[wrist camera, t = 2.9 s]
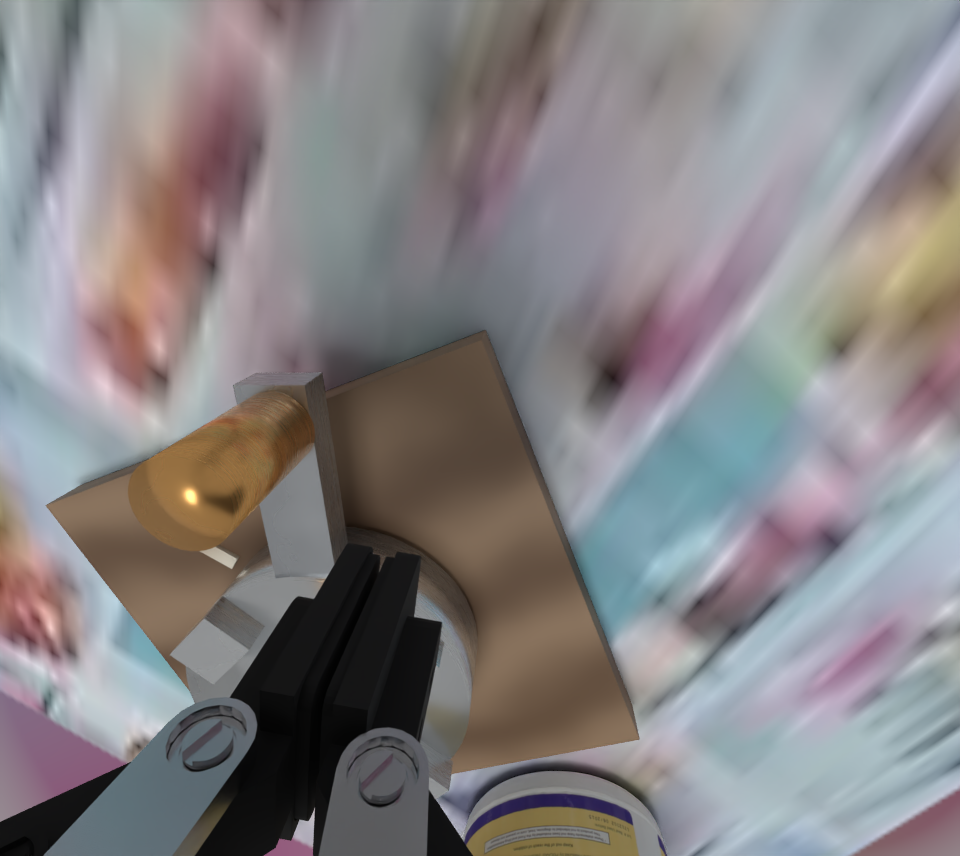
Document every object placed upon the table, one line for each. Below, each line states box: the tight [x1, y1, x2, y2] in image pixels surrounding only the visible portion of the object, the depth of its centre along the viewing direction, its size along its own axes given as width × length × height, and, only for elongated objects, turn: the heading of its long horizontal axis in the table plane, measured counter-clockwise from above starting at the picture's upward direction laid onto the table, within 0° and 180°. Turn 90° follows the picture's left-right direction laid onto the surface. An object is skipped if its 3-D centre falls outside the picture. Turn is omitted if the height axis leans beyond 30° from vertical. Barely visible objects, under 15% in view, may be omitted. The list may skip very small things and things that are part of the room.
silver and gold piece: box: [128, 373, 478, 799], centre depth 19 cm, size 20×12×8 cm, turn 2°
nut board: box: [46, 330, 639, 774], centre depth 25 cm, size 22×22×2 cm
